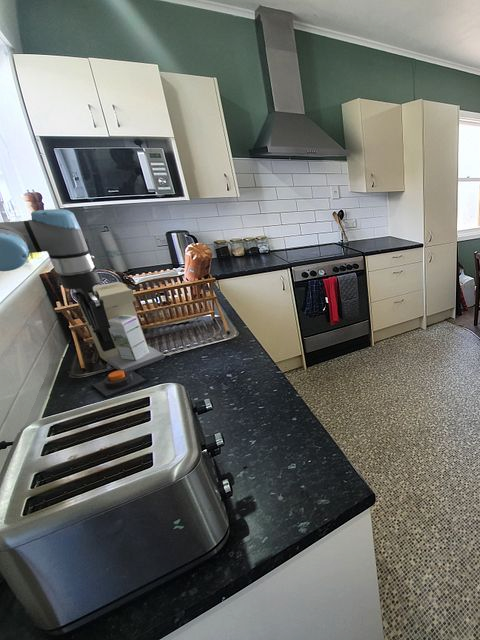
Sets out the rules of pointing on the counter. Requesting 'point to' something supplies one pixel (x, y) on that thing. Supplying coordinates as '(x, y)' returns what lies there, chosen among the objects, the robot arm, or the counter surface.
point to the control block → (119, 384)
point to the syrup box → (128, 337)
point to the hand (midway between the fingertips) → (109, 349)
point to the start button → (116, 375)
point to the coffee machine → (116, 304)
